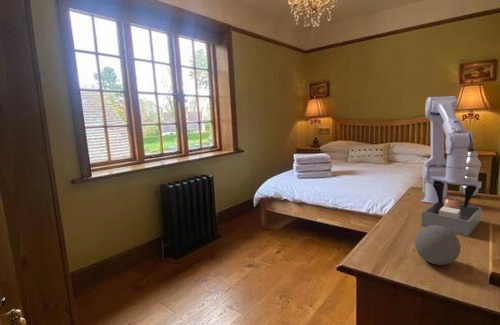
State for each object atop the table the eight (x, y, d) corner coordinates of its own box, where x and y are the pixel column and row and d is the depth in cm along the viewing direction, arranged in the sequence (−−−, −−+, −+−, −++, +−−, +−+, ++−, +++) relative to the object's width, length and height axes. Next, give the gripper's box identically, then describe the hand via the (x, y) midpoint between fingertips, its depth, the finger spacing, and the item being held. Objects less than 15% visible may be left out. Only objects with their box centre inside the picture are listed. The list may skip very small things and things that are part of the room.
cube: (442, 219, 101) (443, 206, 100) (459, 223, 98) (460, 209, 97) (437, 224, 98) (439, 210, 97) (455, 227, 94) (456, 213, 94)
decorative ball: (468, 269, 72) (472, 231, 70) (435, 275, 70) (438, 237, 68) (435, 250, 81) (438, 217, 80) (405, 256, 79) (407, 222, 78)
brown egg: (444, 213, 107) (445, 195, 106) (460, 216, 103) (462, 198, 102) (441, 217, 103) (443, 199, 102) (458, 220, 100) (460, 201, 99)
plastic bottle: (460, 192, 133) (464, 150, 129) (478, 195, 128) (483, 151, 124) (457, 196, 128) (461, 152, 125) (476, 199, 123) (481, 153, 120)
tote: (437, 212, 110) (438, 199, 109) (480, 221, 100) (481, 207, 99) (421, 225, 99) (422, 211, 98) (467, 236, 89) (469, 221, 88)
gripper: (428, 166, 103) (426, 202, 105) (479, 171, 92) (475, 211, 94) (435, 163, 107) (432, 198, 110) (484, 168, 96) (480, 206, 99)
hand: (452, 204), depth 102 cm, fingers open, 7 cm apart
